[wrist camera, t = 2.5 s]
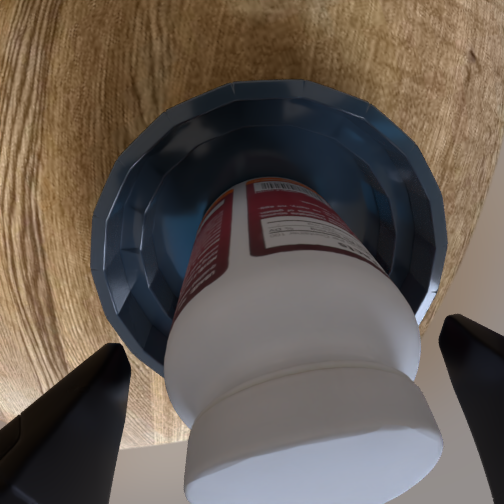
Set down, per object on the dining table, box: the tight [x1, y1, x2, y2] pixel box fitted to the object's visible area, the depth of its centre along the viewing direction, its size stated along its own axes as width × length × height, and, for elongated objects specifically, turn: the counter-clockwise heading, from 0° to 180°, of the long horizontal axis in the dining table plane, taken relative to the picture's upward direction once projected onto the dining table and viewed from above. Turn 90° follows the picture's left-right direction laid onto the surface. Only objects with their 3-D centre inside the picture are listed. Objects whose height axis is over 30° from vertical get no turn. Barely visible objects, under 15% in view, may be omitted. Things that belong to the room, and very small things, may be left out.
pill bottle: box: [164, 177, 443, 504], centre depth 9 cm, size 6×6×11 cm
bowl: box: [90, 79, 448, 379], centre depth 13 cm, size 13×13×4 cm
